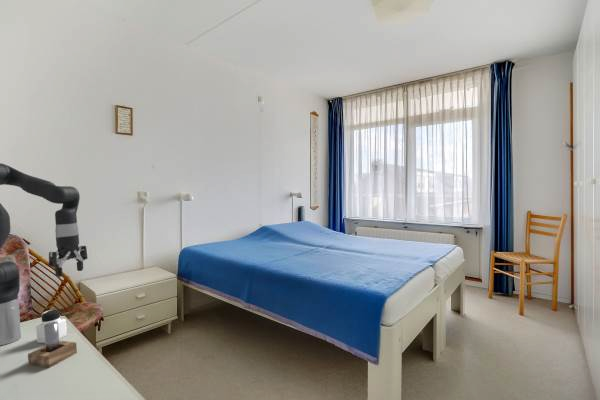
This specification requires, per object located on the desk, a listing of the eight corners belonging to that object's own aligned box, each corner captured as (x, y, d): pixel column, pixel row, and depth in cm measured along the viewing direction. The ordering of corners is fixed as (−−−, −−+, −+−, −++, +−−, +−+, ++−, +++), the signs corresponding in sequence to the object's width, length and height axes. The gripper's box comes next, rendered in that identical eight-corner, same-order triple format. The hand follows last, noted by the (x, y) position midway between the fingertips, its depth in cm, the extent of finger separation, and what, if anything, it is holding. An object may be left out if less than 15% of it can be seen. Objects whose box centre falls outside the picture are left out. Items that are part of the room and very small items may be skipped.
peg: (43, 358, 112) (41, 326, 111) (54, 352, 116) (52, 321, 115) (51, 359, 111) (49, 326, 110) (62, 353, 115) (60, 322, 114)
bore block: (28, 364, 110) (27, 353, 110) (57, 350, 119) (56, 340, 119) (49, 367, 107) (48, 356, 107) (76, 352, 117) (76, 342, 117)
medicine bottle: (67, 335, 133) (65, 307, 132) (52, 343, 125) (50, 314, 125) (52, 334, 133) (50, 307, 133) (36, 343, 126) (34, 314, 126)
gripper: (76, 232, 134) (79, 268, 134) (42, 237, 120) (45, 278, 120) (90, 232, 132) (92, 269, 132) (56, 237, 118) (59, 279, 119)
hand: (70, 273), depth 126 cm, fingers open, 8 cm apart
